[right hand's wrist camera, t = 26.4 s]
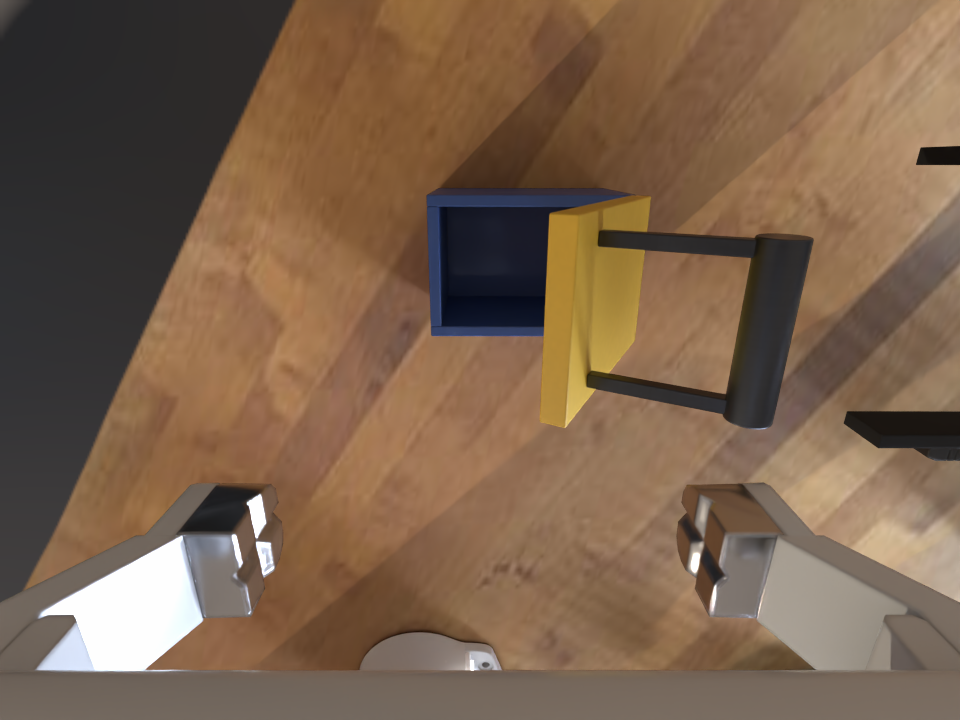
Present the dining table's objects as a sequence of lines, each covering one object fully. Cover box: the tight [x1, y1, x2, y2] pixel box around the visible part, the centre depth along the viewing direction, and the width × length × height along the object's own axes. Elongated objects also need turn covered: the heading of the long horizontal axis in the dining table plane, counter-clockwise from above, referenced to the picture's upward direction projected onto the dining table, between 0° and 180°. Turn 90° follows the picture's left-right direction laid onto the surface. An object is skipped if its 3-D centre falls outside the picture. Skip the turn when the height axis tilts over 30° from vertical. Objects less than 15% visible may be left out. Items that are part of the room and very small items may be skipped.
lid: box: [540, 195, 814, 429], centre depth 26 cm, size 14×9×9 cm
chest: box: [427, 188, 637, 336], centre depth 39 cm, size 13×9×10 cm
